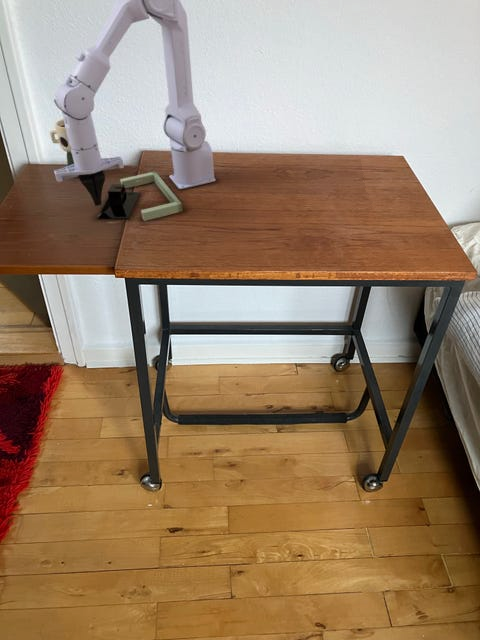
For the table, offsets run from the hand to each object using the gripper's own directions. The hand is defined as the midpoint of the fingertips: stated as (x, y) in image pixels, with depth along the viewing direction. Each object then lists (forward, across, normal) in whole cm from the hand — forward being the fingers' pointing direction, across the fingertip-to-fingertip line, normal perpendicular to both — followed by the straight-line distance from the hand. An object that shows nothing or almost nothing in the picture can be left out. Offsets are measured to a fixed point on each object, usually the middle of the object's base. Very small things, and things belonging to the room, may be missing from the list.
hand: (97, 203), depth 121 cm
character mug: (+2, -1, -22) cm, 23 cm away
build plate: (+2, -5, 0) cm, 5 cm away
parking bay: (+2, -12, 0) cm, 12 cm away
